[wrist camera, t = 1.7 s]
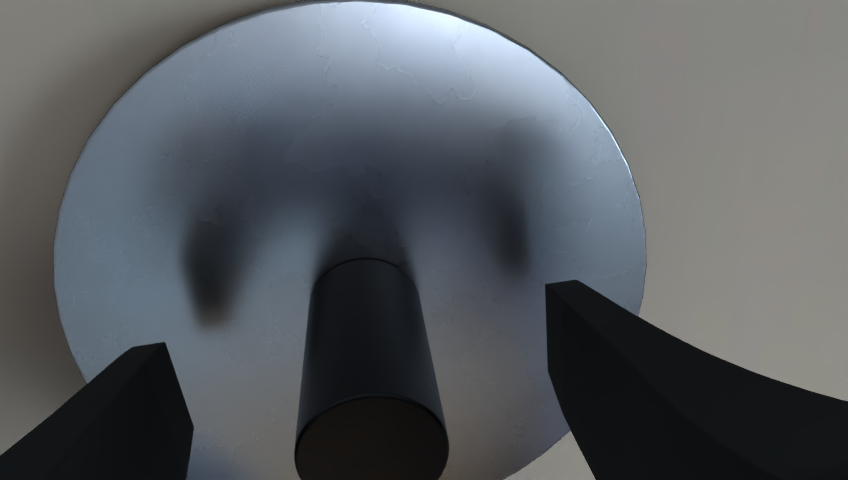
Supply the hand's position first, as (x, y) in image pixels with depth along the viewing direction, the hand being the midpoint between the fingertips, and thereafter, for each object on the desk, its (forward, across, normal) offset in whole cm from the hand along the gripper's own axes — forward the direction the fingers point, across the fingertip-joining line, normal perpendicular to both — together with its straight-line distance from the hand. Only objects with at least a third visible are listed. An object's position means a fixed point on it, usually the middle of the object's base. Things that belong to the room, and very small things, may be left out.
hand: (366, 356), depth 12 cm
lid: (+2, 0, 0) cm, 2 cm away
